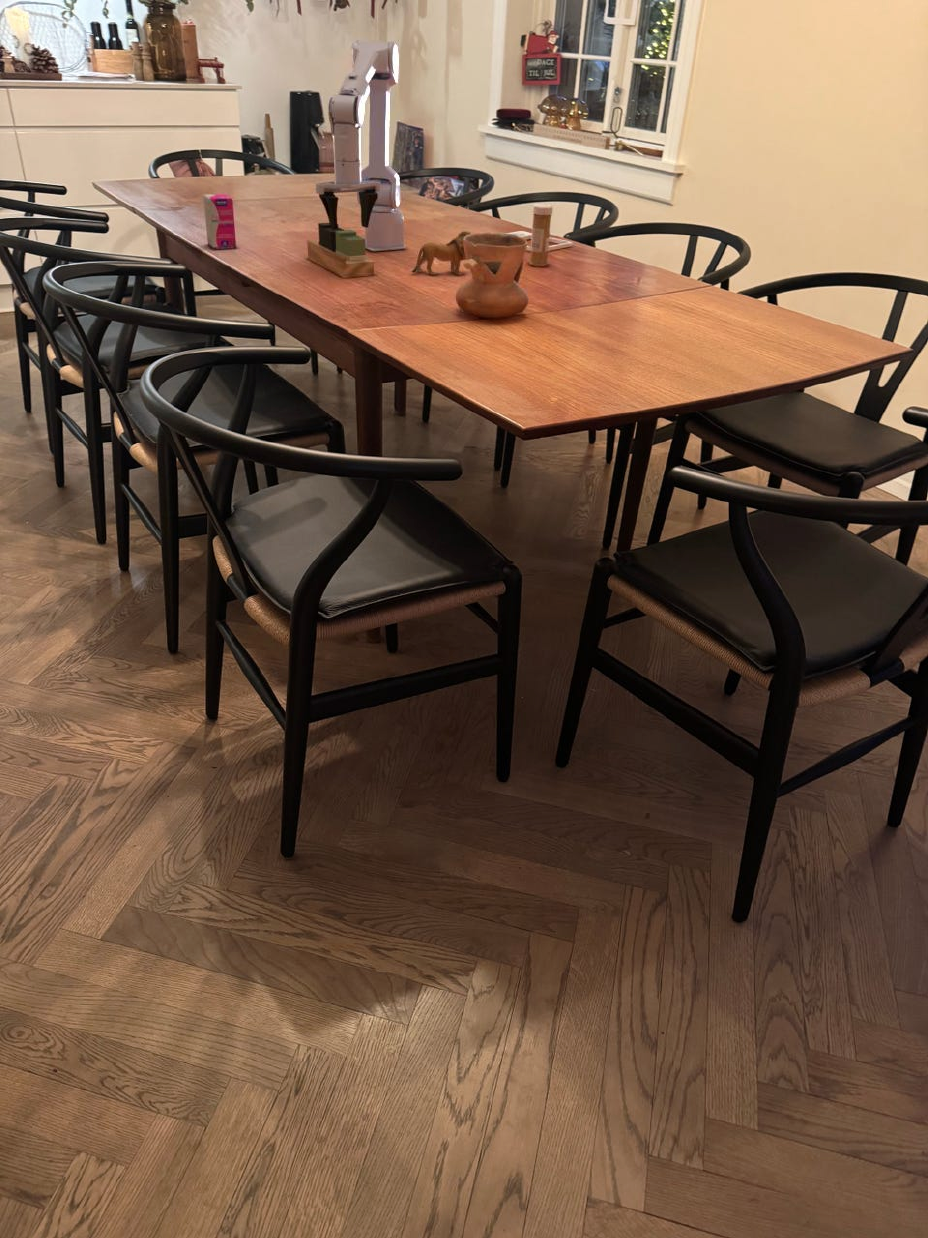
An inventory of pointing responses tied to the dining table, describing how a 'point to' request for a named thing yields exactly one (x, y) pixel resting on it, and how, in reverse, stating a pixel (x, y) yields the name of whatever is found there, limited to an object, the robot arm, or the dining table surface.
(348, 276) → the wooden tray
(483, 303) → the ceramic jug
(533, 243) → the sprinkles bottle
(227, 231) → the supplement box
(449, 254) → the lion figurine
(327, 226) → the black block
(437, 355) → the dining table surface
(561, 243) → the photo frame
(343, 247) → the green block
